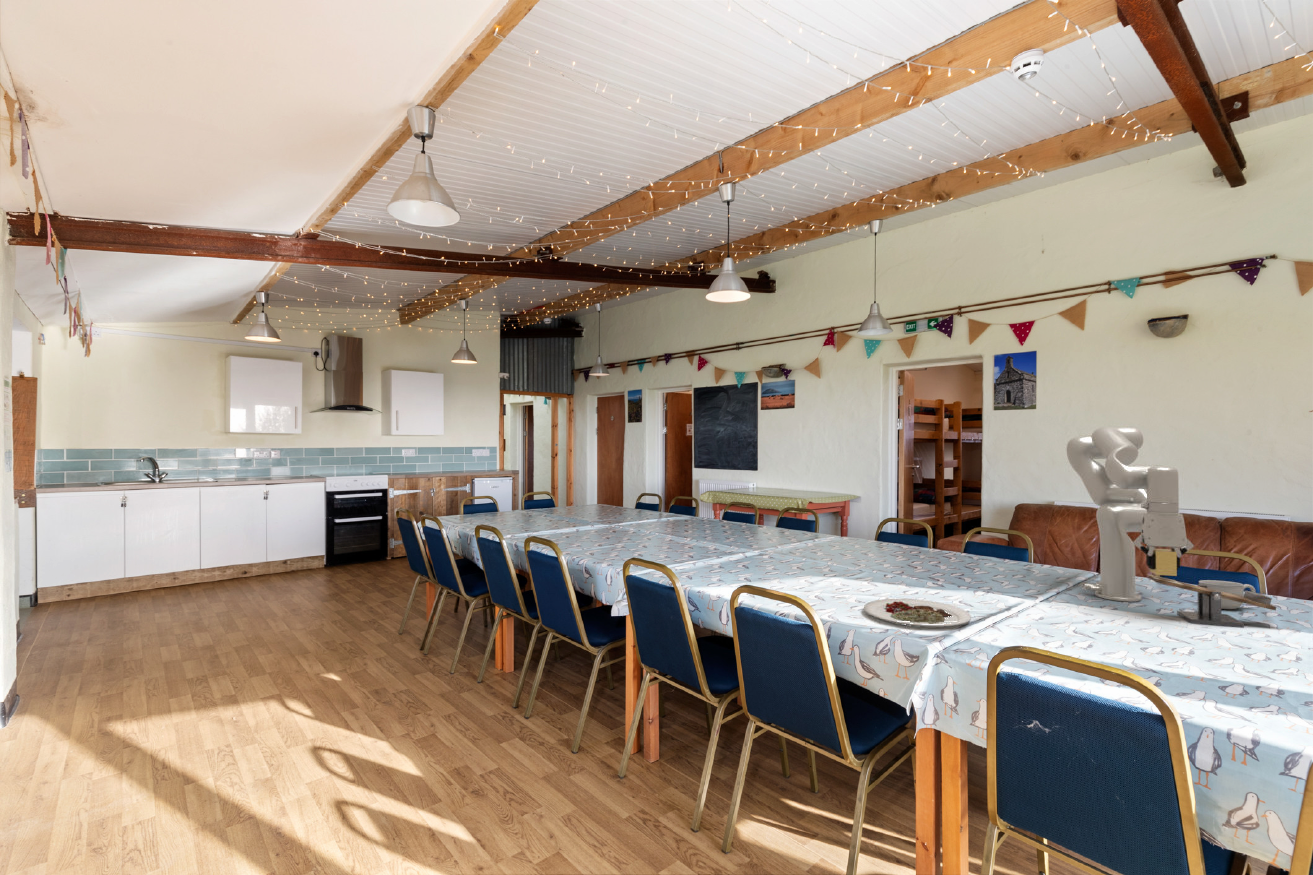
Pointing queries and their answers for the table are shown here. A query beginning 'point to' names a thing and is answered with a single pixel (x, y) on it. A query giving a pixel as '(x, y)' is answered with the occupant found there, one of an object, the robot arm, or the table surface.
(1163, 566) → the block
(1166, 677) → the table surface
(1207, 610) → the beam stand
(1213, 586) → the teacup
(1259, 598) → the beam
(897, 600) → the plated food
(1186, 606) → the table surface
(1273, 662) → the table surface
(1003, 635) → the table surface
